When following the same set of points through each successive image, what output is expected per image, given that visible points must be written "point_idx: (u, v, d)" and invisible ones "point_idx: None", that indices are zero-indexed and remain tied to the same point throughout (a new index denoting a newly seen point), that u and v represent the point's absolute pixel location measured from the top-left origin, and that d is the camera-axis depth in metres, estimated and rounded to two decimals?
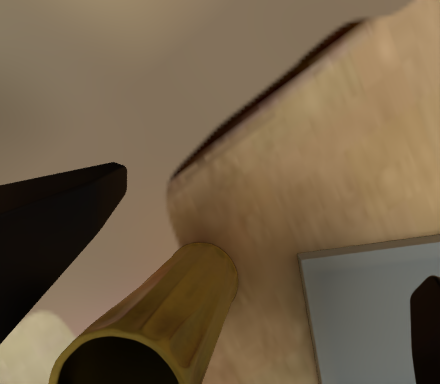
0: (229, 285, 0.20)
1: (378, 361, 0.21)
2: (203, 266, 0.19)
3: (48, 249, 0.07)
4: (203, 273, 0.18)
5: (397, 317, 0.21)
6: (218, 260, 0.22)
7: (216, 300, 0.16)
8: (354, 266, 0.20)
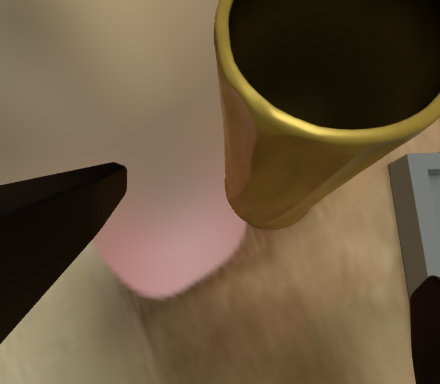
0: None
1: None
2: None
3: (48, 249, 0.07)
4: None
5: None
6: None
7: None
8: None
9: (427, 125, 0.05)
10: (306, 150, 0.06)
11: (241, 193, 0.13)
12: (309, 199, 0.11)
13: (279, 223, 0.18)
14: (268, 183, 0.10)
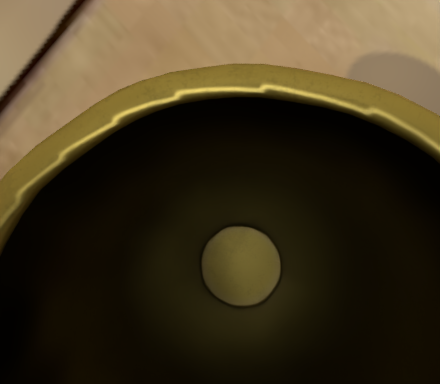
0: None
1: None
2: None
3: None
4: None
5: None
6: None
7: None
8: None
9: None
10: None
11: None
12: None
13: None
14: None
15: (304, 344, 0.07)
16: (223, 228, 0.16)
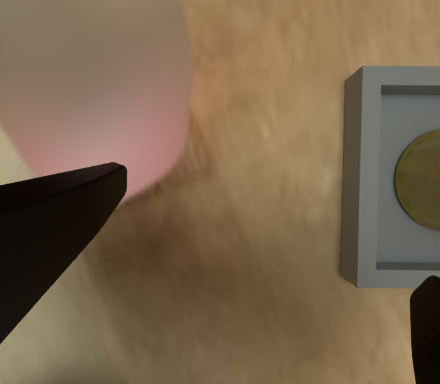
0: None
1: None
2: None
3: (48, 249, 0.07)
4: None
5: None
6: None
7: None
8: (428, 83, 0.15)
9: None
10: None
11: None
12: None
13: (439, 225, 0.16)
14: None
15: None
16: None
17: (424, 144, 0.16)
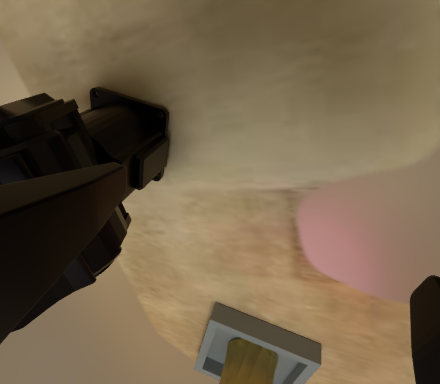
0: None
1: None
2: None
3: (48, 249, 0.07)
4: None
5: None
6: None
7: None
8: (299, 376, 0.31)
9: None
10: None
11: None
12: None
13: (231, 348, 0.33)
14: None
15: None
16: None
17: (271, 361, 0.32)
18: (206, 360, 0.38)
